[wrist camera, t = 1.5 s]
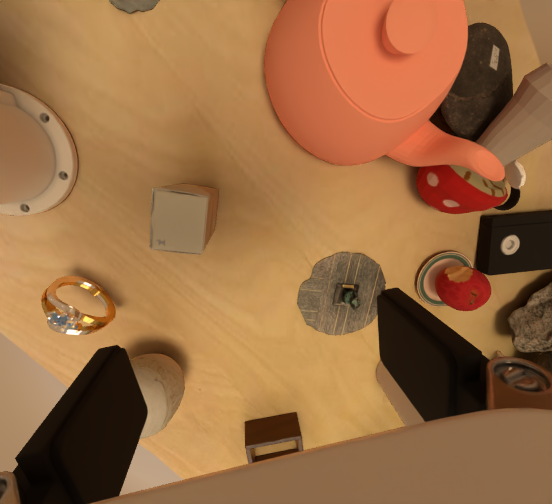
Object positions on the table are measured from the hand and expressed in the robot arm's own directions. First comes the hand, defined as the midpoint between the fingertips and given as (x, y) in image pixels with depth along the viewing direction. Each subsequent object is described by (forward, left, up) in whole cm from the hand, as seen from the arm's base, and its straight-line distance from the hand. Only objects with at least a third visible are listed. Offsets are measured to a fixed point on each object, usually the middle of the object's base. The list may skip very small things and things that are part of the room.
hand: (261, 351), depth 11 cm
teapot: (-13, +13, -25) cm, 31 cm away
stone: (-12, +27, -20) cm, 36 cm away
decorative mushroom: (-10, +28, -14) cm, 33 cm away
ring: (+6, -19, -25) cm, 32 cm away
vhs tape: (+7, +37, -23) cm, 44 cm away
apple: (+11, +25, -25) cm, 37 cm away
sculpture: (+12, +11, -25) cm, 30 cm away
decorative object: (+18, -15, -25) cm, 34 cm away
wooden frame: (+34, -1, -25) cm, 42 cm away
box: (-3, -5, -25) cm, 26 cm away
